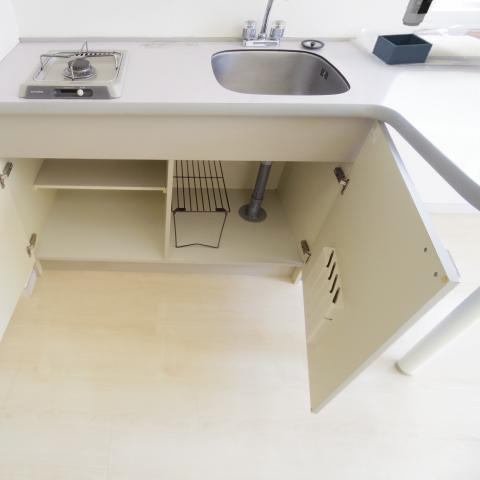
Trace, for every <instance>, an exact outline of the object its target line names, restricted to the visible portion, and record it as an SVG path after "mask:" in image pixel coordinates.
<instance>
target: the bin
mask: <svg viewBox="0 0 480 480" xmlns="http://www.w3.org/2000/svg"><path fill="white" fill-rule="evenodd" d="M433 45H434V44H433V43H432V42H429V41H427V40H426V39H424V38H422V37H420V36H418V35H417V34H416V33H399V34H382V35H381V34H380V35H378V36H377V39H376V41H375V44H374V47H373V49H372V54H373V55H374V56H376V58H378V59H380V60H381V61H383V62H384V63H385V64H387V65H406V64H421V63H425V62H426V60H427V58H428V56H429V54H430V52H431V50H432V47H433Z"/></svg>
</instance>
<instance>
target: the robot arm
mask: <svg viewBox="0 0 480 480" xmlns="http://www.w3.org/2000/svg"><path fill="white" fill-rule="evenodd" d="M433 1H434V0H423V1H422V3H421V5H420V8H419V10H418V13H417V14H426V15H427V14H428V13H429V9H430V7H431V4H432V3H433ZM409 2H410V0H409V1H408V3H409ZM407 7H408V5H407V6H406V8H407Z"/></svg>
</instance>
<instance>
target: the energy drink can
mask: <svg viewBox="0 0 480 480" xmlns="http://www.w3.org/2000/svg"><path fill="white" fill-rule="evenodd" d="M409 1H410V2H409ZM409 1H408V4H407V6H408V7H407V6H406V10H405V11H404V15H403V17H402V25H404V26H407V27H418V26H420V24H421V23H423V21H424V20H425V16H426V15H427V14H417V13H418V10H419V8H420V5H421V3H422V1H423V0H409Z"/></svg>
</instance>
